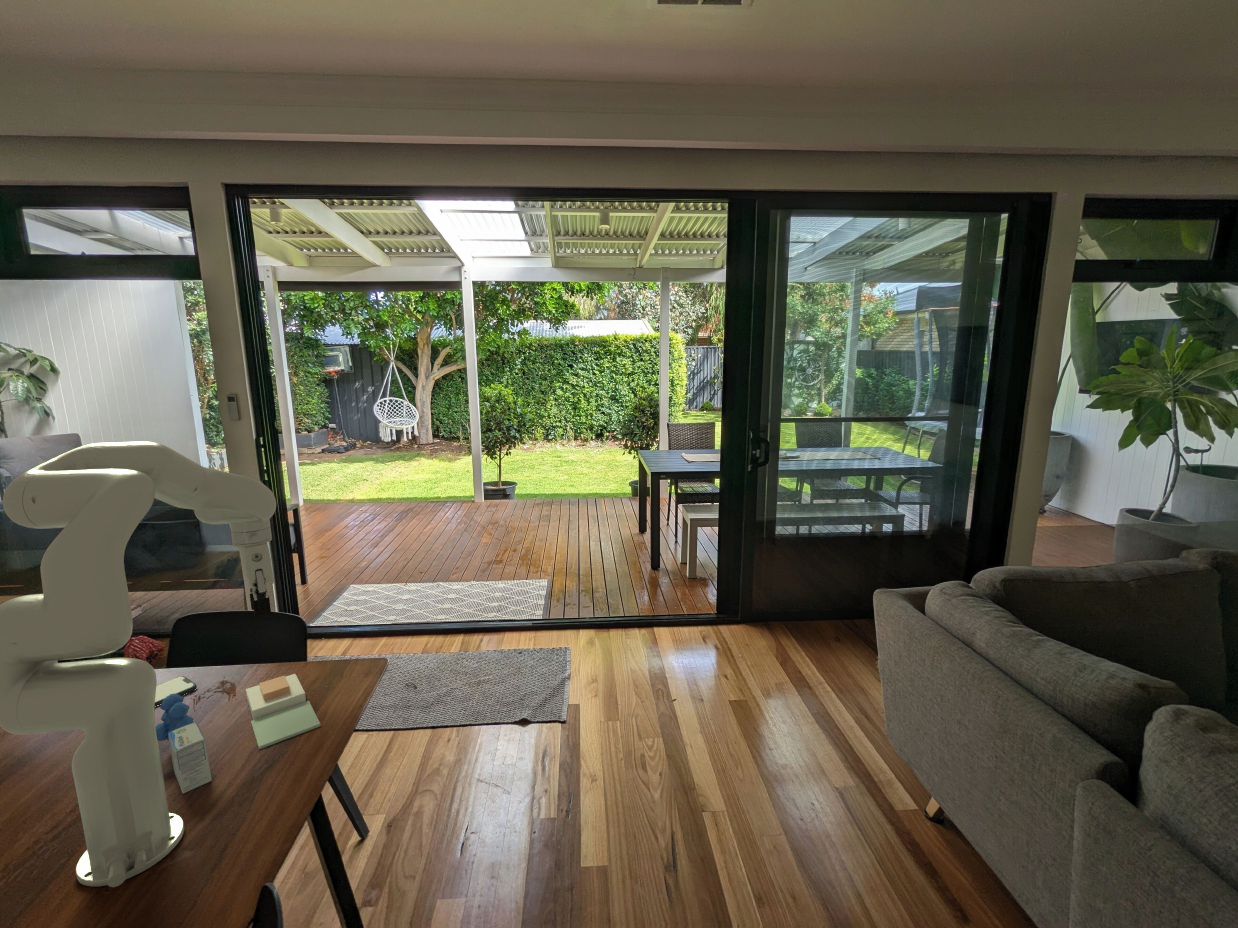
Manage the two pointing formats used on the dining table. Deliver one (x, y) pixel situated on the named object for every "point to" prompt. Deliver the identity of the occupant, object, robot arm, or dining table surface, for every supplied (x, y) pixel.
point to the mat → (284, 724)
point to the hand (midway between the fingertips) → (261, 610)
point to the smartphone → (173, 688)
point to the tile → (274, 688)
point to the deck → (275, 699)
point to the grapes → (172, 716)
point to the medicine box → (189, 757)
